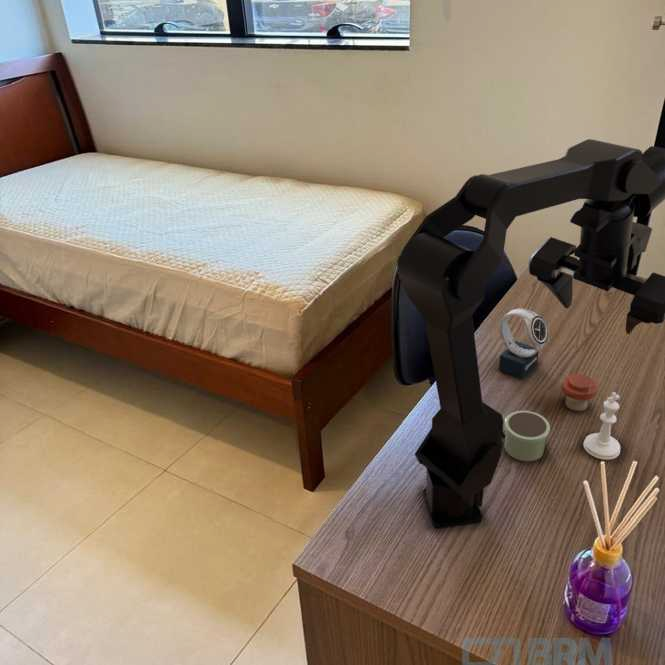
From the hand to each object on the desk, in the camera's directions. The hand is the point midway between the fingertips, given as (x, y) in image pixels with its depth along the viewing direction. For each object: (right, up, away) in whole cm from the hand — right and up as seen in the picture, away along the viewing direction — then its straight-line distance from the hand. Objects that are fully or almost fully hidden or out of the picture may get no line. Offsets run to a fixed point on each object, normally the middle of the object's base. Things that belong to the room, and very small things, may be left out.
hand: (597, 318), depth 87 cm
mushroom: (+1, -13, +10) cm, 17 cm away
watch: (-5, -8, +19) cm, 22 cm away
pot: (-10, -19, +3) cm, 21 cm away
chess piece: (+1, -19, +2) cm, 19 cm away
